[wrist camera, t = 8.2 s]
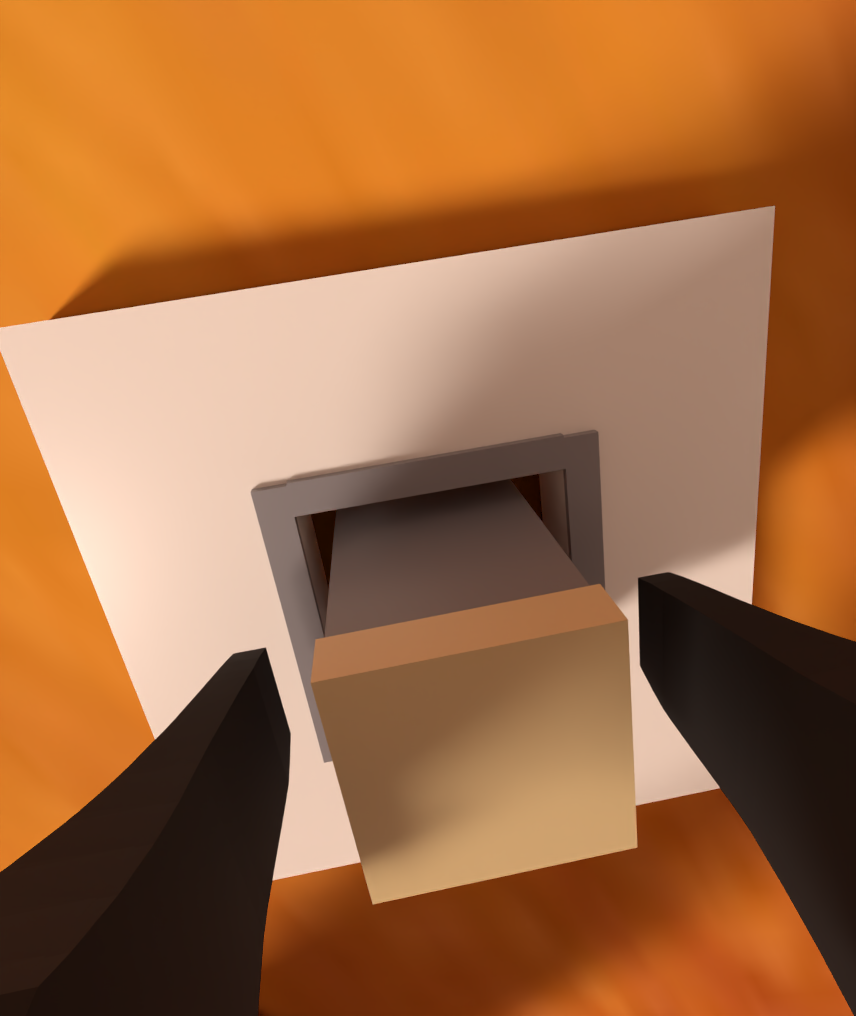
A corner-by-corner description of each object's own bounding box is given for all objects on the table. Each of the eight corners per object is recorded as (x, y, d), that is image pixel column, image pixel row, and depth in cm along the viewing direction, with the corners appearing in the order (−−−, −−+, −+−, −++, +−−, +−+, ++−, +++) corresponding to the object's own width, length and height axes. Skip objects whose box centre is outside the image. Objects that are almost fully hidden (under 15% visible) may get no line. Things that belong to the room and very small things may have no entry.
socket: (702, 731, 18) (745, 789, 16) (231, 825, 17) (214, 899, 15) (715, 215, 13) (782, 204, 11) (46, 321, 12) (-15, 330, 10)
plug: (523, 615, 16) (637, 847, 10) (366, 645, 16) (373, 904, 9) (506, 464, 14) (628, 620, 8) (332, 497, 14) (310, 683, 8)
